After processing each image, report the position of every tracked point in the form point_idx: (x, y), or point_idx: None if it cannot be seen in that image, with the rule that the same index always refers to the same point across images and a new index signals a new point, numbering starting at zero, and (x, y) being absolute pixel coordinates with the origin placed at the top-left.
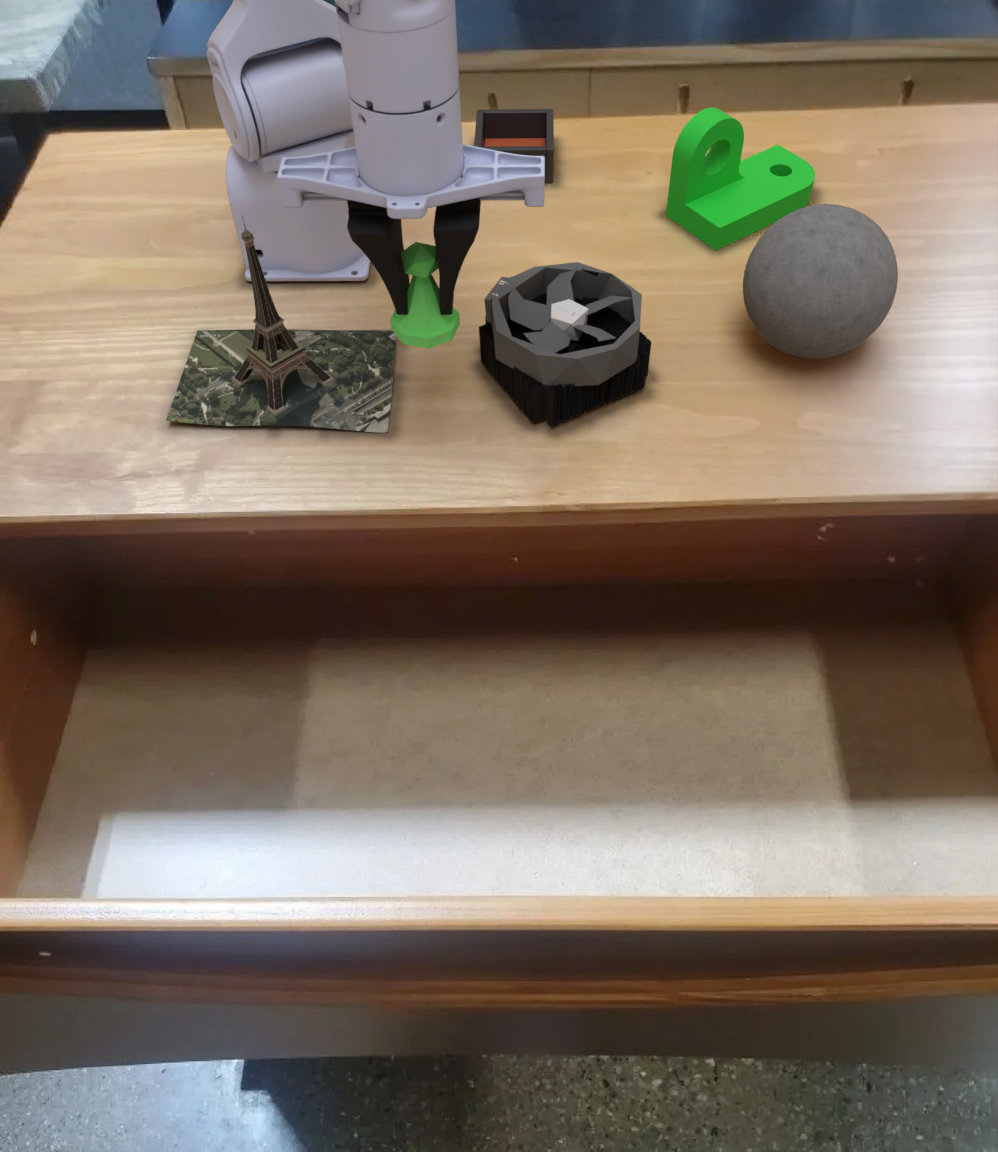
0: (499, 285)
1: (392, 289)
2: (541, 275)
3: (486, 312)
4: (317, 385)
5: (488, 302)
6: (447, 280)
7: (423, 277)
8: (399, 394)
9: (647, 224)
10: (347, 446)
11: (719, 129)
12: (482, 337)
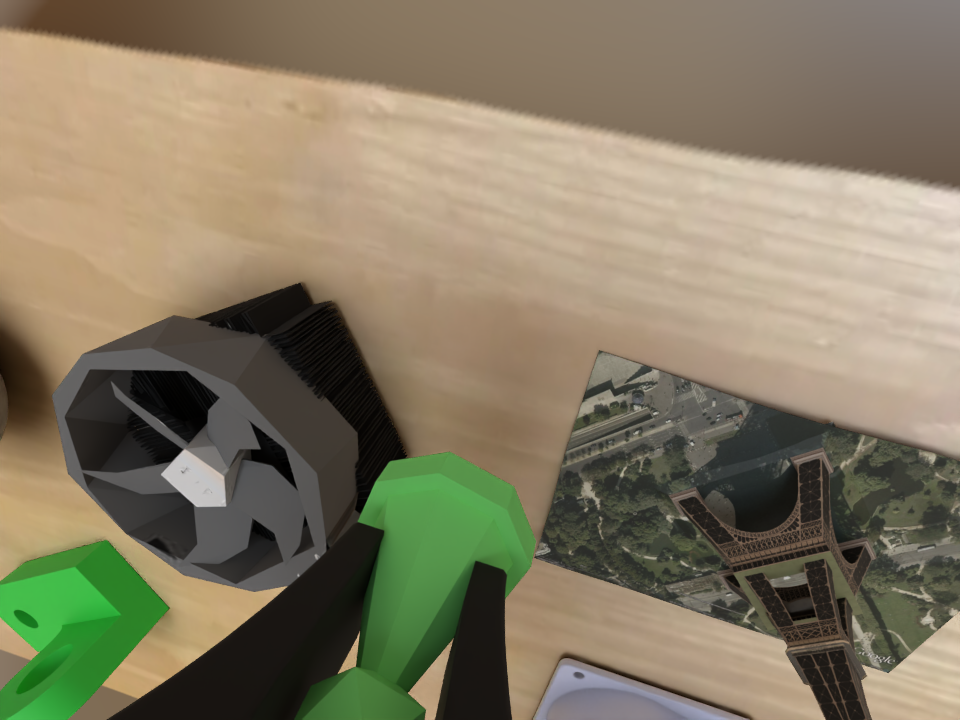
0: None
1: (487, 664)
2: (250, 571)
3: None
4: (707, 492)
5: None
6: (272, 633)
7: (363, 672)
8: (557, 434)
9: (189, 604)
10: (687, 338)
11: (2, 712)
12: None
